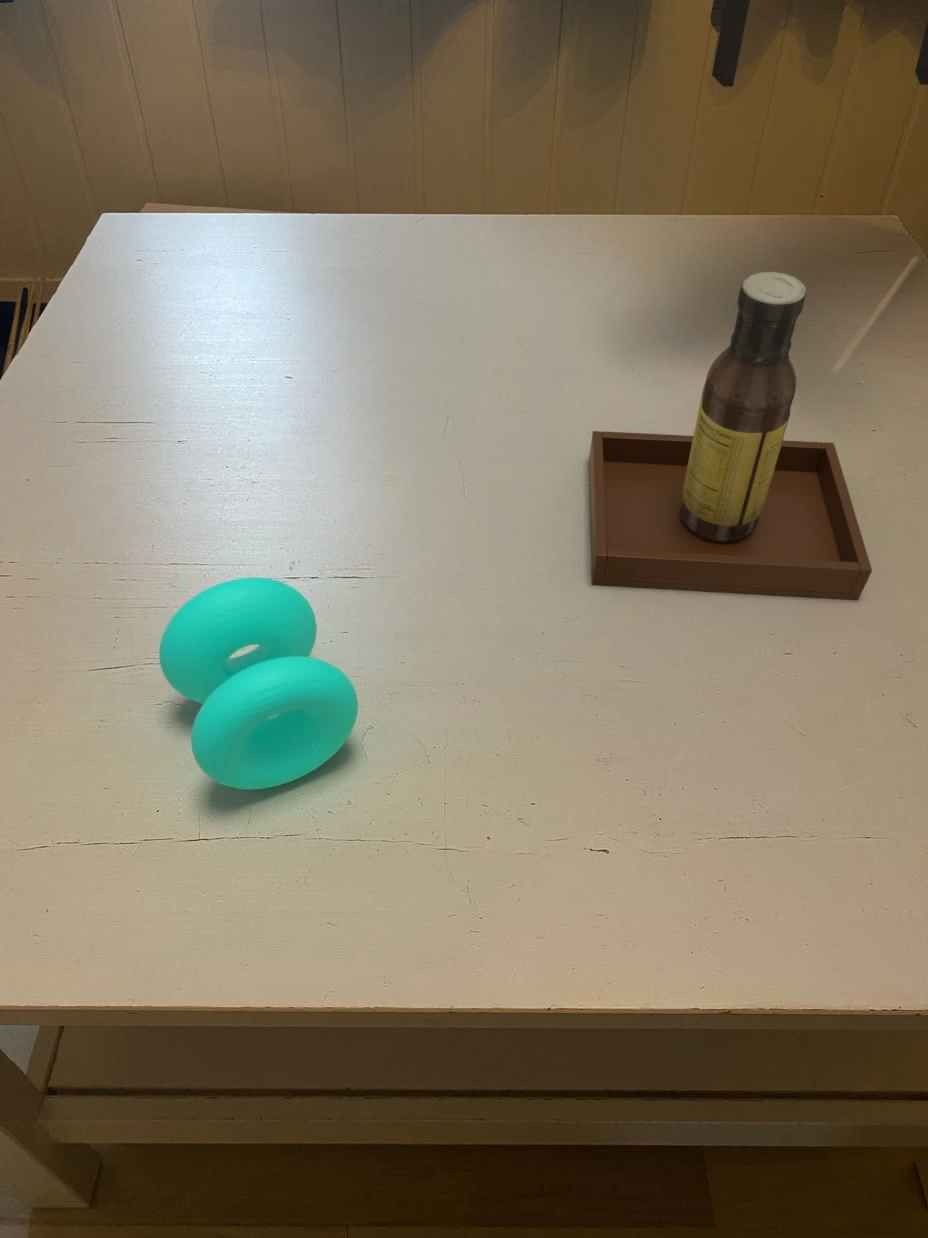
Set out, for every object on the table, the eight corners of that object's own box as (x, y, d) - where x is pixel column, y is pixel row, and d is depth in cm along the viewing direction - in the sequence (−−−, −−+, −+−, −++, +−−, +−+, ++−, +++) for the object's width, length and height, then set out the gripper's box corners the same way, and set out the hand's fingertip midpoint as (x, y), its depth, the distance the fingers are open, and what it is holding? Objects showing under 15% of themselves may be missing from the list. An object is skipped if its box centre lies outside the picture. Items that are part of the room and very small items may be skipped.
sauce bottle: (738, 488, 77) (807, 256, 62) (769, 540, 73) (850, 305, 58) (663, 497, 76) (714, 264, 61) (690, 551, 72) (752, 315, 57)
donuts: (314, 650, 66) (297, 547, 58) (370, 758, 60) (358, 660, 53) (173, 701, 63) (136, 599, 55) (218, 820, 57) (182, 725, 50)
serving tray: (822, 472, 79) (834, 442, 77) (858, 600, 70) (872, 570, 67) (588, 460, 80) (592, 430, 78) (591, 584, 70) (596, 555, 68)
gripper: (1130, -297, 56) (1022, 94, 62) (724, -227, 68) (666, 96, 74) (1138, -389, 50) (1018, 56, 56) (691, -294, 62) (630, 65, 68)
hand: (817, 80), depth 65 cm, fingers open, 13 cm apart
